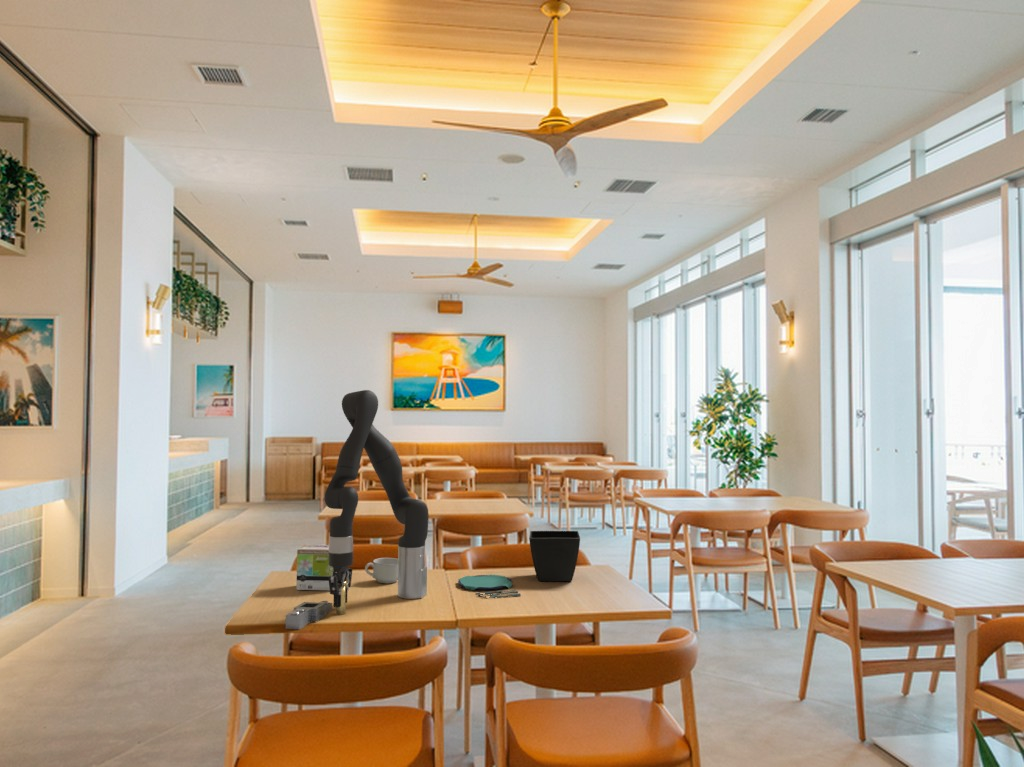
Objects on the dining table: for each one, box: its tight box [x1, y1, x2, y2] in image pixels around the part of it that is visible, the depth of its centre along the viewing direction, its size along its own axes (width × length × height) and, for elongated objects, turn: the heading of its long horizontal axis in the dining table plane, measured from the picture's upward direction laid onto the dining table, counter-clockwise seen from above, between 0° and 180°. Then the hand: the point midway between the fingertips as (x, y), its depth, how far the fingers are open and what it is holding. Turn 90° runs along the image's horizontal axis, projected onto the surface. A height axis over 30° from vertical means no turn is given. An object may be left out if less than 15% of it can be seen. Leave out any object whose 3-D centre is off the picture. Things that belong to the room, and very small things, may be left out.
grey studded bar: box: [285, 600, 333, 630], centre depth 236 cm, size 7×23×5 cm, turn 170°
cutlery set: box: [457, 574, 521, 599], centre depth 276 cm, size 20×30×2 cm, turn 15°
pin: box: [335, 581, 347, 616], centre depth 242 cm, size 4×4×10 cm
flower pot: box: [528, 530, 581, 582], centre depth 293 cm, size 19×19×17 cm
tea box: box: [296, 544, 334, 592], centre depth 277 cm, size 15×10×15 cm, turn 90°
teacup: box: [364, 557, 398, 584], centre depth 286 cm, size 14×11×8 cm
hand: (340, 604), depth 241 cm, fingers open, 4 cm apart
